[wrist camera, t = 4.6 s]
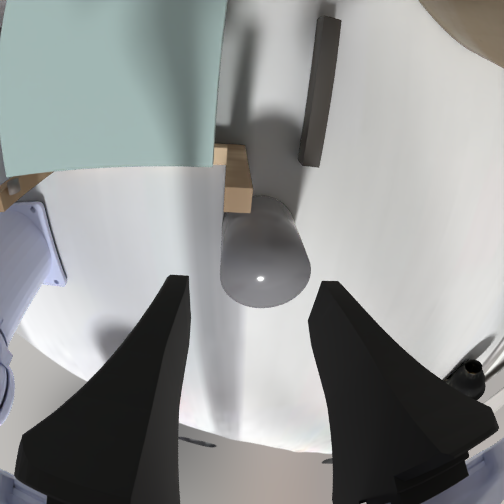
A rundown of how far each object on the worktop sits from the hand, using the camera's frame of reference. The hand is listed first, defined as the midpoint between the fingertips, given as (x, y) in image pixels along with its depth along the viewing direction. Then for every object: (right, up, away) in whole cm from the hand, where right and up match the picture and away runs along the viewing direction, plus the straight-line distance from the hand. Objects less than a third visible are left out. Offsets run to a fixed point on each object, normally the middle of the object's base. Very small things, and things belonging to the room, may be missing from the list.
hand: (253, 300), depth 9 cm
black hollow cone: (+40, -24, +32) cm, 57 cm away
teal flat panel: (-7, +10, -2) cm, 12 cm away
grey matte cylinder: (0, +3, +9) cm, 10 cm away
